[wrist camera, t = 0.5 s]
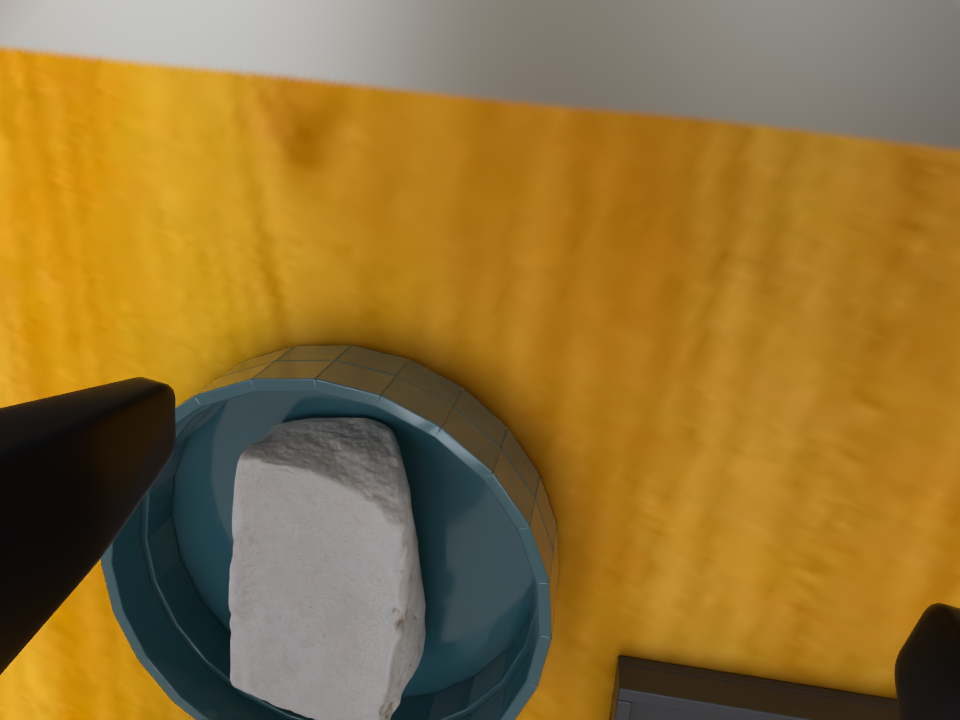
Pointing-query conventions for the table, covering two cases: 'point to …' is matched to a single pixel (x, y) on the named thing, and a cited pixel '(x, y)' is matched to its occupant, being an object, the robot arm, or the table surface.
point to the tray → (730, 697)
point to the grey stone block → (325, 571)
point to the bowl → (436, 512)
